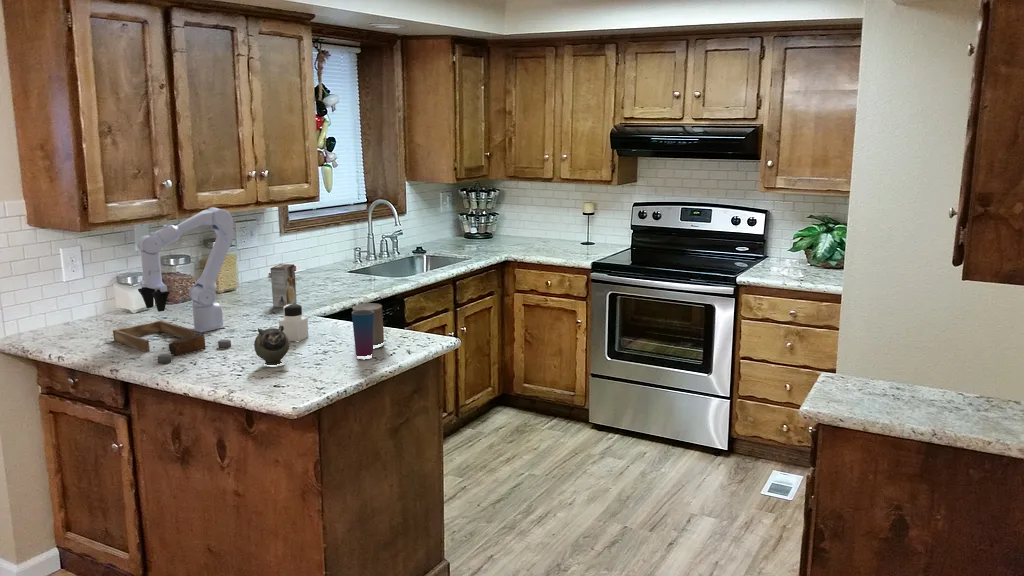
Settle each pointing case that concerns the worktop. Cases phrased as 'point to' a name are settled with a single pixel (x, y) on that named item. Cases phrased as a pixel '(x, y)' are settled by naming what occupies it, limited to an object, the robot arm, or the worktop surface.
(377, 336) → the pillar candle
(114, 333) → the wooden frame
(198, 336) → the brick
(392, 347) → the worktop surface
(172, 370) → the worktop surface
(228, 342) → the puck right
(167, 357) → the puck left
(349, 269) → the worktop surface
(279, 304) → the coffee box
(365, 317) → the cup
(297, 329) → the medicine bottle
